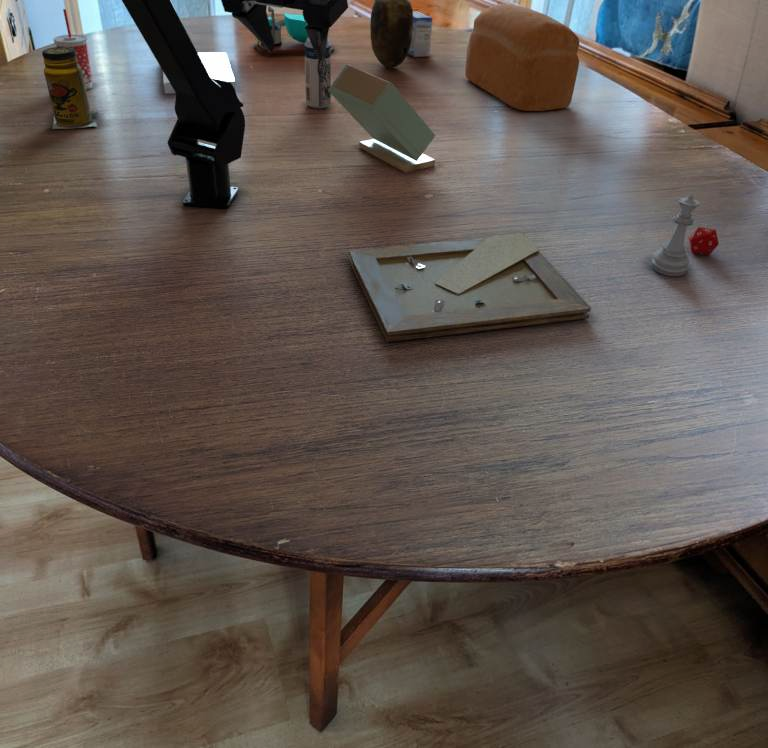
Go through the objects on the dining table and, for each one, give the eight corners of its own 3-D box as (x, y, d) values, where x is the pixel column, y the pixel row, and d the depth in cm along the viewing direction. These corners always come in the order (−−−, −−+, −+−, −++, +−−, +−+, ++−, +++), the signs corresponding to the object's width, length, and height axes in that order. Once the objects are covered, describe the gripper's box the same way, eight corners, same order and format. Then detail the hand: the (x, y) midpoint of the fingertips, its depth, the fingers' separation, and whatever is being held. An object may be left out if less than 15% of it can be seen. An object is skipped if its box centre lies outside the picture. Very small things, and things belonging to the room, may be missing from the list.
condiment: (52, 130, 124) (34, 55, 116) (54, 114, 130) (38, 43, 123) (97, 127, 126) (82, 54, 118) (97, 112, 132) (83, 41, 125)
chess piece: (652, 257, 95) (673, 184, 89) (687, 264, 94) (711, 191, 88) (649, 272, 92) (671, 197, 86) (685, 279, 90) (710, 204, 84)
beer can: (327, 110, 138) (326, 43, 131) (303, 108, 139) (301, 40, 132) (333, 103, 142) (333, 37, 135) (310, 100, 143) (308, 35, 135)
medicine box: (399, 49, 178) (401, 11, 173) (415, 48, 180) (417, 10, 175) (413, 57, 173) (416, 17, 167) (430, 56, 174) (433, 17, 169)
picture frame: (522, 245, 96) (348, 261, 91) (524, 232, 95) (348, 248, 90) (588, 319, 82) (387, 343, 77) (591, 306, 81) (387, 329, 75)
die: (727, 248, 96) (717, 219, 95) (715, 256, 94) (705, 226, 93) (701, 254, 98) (692, 227, 98) (689, 262, 96) (679, 234, 96)
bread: (516, 114, 141) (529, 26, 132) (459, 77, 160) (467, -2, 151) (576, 109, 145) (593, 23, 136) (514, 74, 165) (525, -4, 155)
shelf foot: (405, 172, 115) (405, 166, 114) (359, 147, 123) (359, 141, 122) (434, 165, 118) (435, 159, 117) (387, 141, 126) (387, 135, 125)
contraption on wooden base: (249, 42, 178) (245, -27, 169) (320, 39, 183) (319, -28, 174) (261, 57, 167) (257, -17, 158) (336, 53, 173) (336, -18, 164)
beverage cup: (97, 90, 143) (82, 12, 134) (64, 92, 141) (47, 13, 132) (95, 81, 147) (80, 5, 139) (63, 83, 145) (46, 6, 137)
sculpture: (415, 74, 161) (422, -27, 149) (378, 75, 159) (382, -28, 147) (399, 59, 171) (404, -38, 159) (364, 60, 169) (367, -38, 157)
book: (163, 63, 160) (162, 53, 159) (226, 61, 163) (226, 52, 162) (164, 93, 142) (163, 83, 141) (235, 91, 146) (235, 81, 144)
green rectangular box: (416, 161, 116) (371, 111, 106) (373, 138, 123) (327, 90, 113) (435, 135, 115) (392, 83, 105) (391, 114, 123) (346, 63, 113)
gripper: (357, -74, 98) (374, 34, 111) (246, -86, 105) (274, 17, 118) (316, -32, 94) (338, 76, 106) (202, -47, 100) (236, 56, 113)
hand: (296, 54), depth 111 cm, fingers open, 9 cm apart
